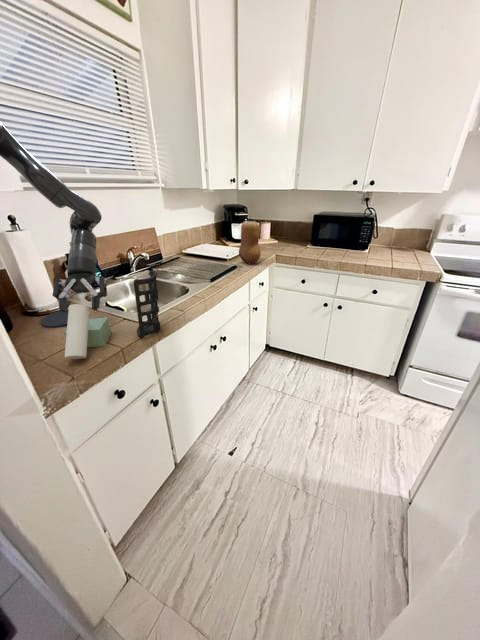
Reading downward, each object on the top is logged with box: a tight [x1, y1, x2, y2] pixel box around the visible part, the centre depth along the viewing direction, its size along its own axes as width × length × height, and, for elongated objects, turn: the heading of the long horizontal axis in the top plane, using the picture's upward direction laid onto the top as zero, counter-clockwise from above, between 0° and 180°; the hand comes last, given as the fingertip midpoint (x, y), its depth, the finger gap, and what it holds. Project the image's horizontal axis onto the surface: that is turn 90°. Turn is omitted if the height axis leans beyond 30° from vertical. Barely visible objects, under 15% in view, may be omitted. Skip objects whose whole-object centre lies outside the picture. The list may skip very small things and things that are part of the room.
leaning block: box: [63, 317, 113, 348], centre depth 82 cm, size 10×8×6 cm
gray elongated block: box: [64, 303, 90, 360], centre depth 75 cm, size 5×14×14 cm, turn 9°
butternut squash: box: [238, 220, 262, 265], centre depth 158 cm, size 14×13×25 cm
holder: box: [133, 270, 161, 339], centre depth 85 cm, size 11×8×20 cm
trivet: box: [40, 308, 69, 329], centre depth 97 cm, size 14×14×1 cm
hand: (79, 310), depth 77 cm, fingers open, 8 cm apart
